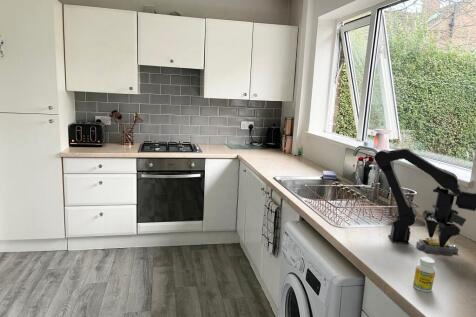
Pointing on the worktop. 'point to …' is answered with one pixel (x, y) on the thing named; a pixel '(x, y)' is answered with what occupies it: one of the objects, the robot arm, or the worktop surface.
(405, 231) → the robot arm
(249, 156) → the worktop surface
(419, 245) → the open rectangular frame
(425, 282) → the supplement bottle
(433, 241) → the gold block with knobs
